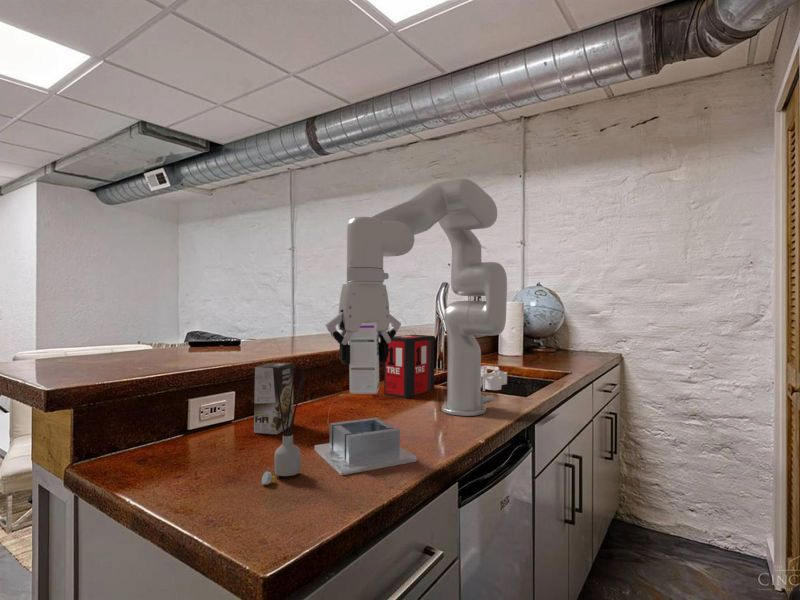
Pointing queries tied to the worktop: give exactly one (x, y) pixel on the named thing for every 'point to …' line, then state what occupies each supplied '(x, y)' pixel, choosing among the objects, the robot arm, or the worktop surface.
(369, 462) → the square socket
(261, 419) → the coffee box
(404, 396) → the cleaning product box
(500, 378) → the skeletal toy car
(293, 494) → the worktop surface
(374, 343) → the syrup box
